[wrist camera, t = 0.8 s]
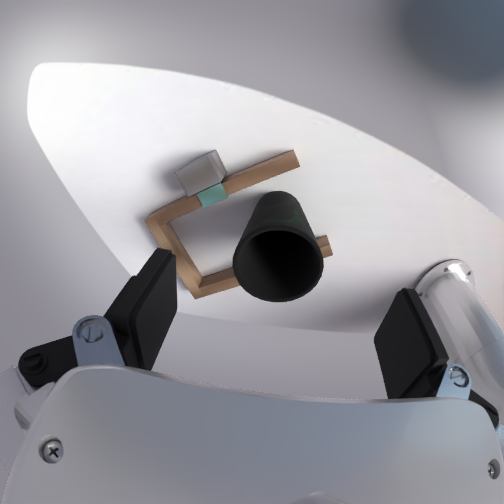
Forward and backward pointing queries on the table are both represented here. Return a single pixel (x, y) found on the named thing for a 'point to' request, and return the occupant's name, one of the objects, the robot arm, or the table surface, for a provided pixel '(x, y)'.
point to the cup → (278, 251)
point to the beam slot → (207, 193)
